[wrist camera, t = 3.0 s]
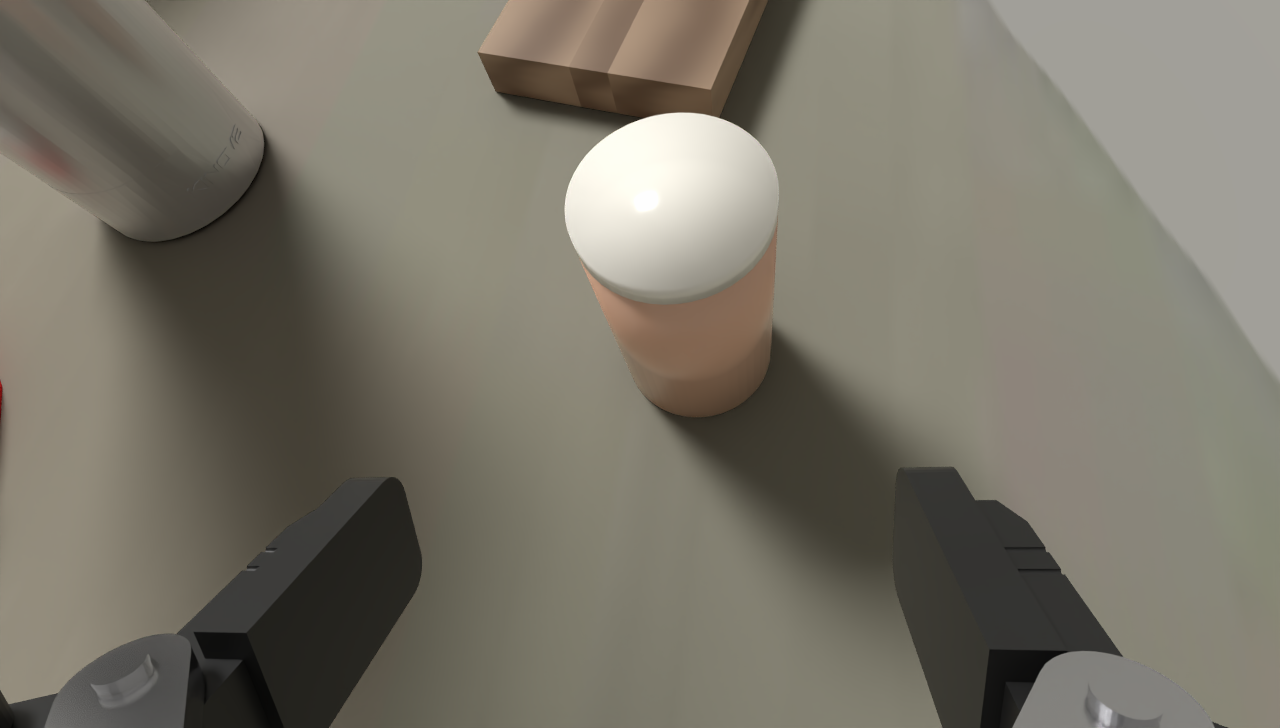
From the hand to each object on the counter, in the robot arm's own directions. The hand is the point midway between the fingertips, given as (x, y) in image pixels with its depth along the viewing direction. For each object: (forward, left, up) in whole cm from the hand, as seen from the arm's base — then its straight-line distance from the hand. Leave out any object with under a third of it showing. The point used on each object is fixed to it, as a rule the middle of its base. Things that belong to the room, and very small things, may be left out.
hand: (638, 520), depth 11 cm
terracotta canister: (-3, +9, -14) cm, 17 cm away
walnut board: (-12, +26, -14) cm, 32 cm away
